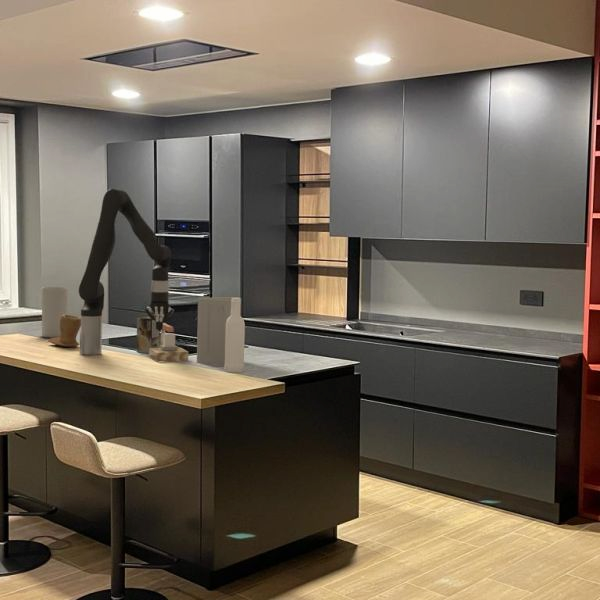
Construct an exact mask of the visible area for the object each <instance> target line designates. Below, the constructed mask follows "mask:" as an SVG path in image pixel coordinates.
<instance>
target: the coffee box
mask: <svg viewBox="0 0 600 600" xmlns="http://www.w3.org/2000/svg"><path fill="white" fill-rule="evenodd" d="M159 322H160V317H159ZM160 337H161V330H157V329H156V321H154V320H152V319H151V318H150V316H141V317H140V316H139V317H137V318H136V353H142V354H143V353H144V354H149V348H159V347H160Z"/></svg>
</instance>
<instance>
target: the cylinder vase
mask: <svg viewBox="0 0 600 600" xmlns="http://www.w3.org/2000/svg"><path fill="white" fill-rule="evenodd" d="M41 289H42V290H41V336H42V337H44V338H49V339H51V338H57V337H58V338H59V337H60V335H61V333H60V319H61V316H62V315H68V287H61V286H60V287H59V286H46V287H43V286H42V287H41Z"/></svg>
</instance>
